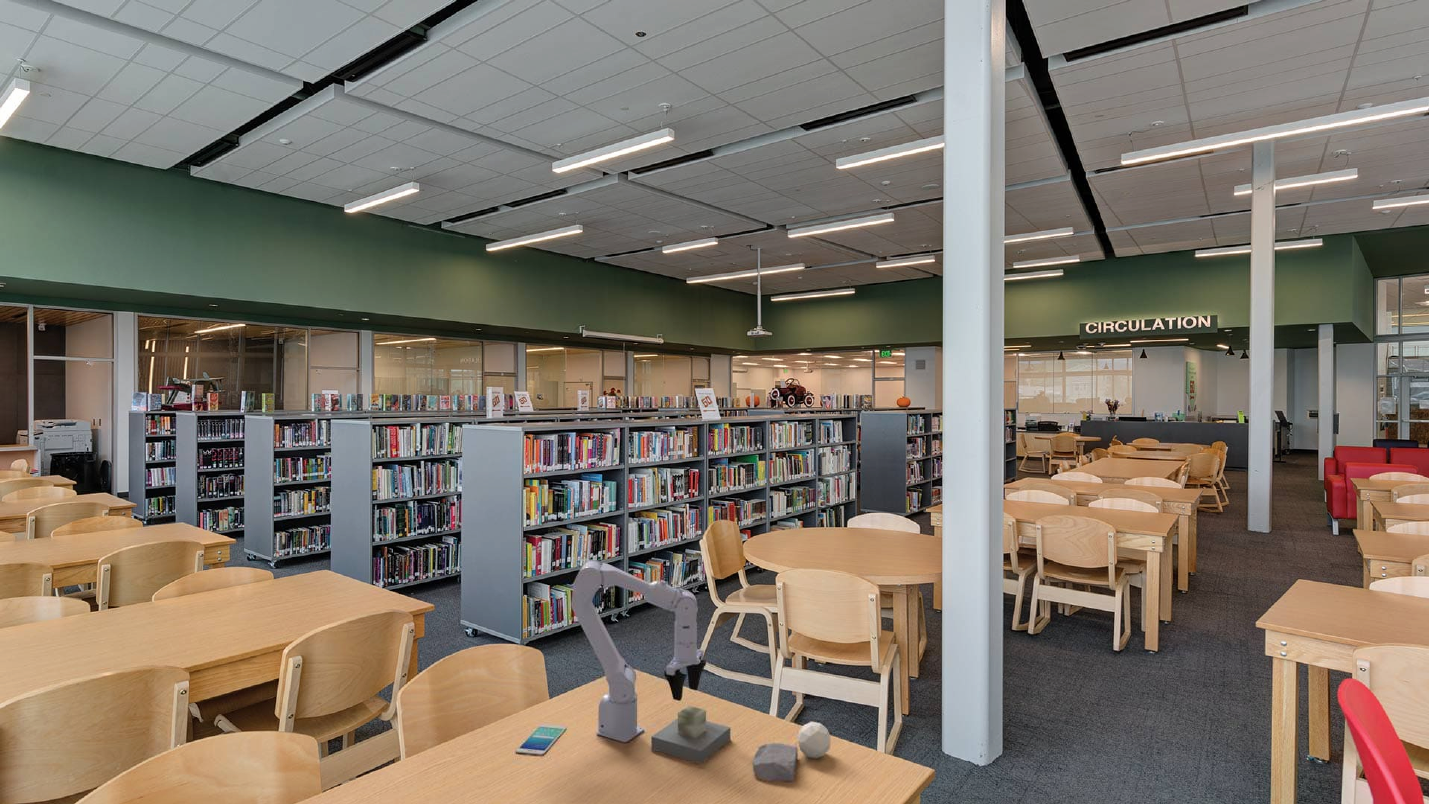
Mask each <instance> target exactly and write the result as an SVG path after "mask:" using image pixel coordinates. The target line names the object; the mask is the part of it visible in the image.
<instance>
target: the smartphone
mask: <svg viewBox="0 0 1429 804" xmlns="http://www.w3.org/2000/svg"><path fill="white" fill-rule="evenodd" d="M566 728H567V726H565V725H556V724H555V725H554V724H545V723H541V724H540V725H538V726H537V727H536V728H535V729H534V731H532V733H531V734H530V735H529V736H528V737H527V738H526V739H525V740H524V741H523V742H522V743H521V744H520V745H518V746H517V748H516V749H515V752H516V753H515V754H517V753H518V755H526V754H531V755H530V756H537V755H543V756H545V755H546V754H547V752H548V751H549V750H550V749H551V748H552V747H553V746H552V745H554V744H555V743H556V742H557V741H558V740H559V738H561V736H562V735H563V734H564V733H565V732H566V730H567V729H566ZM562 733H563V734H562ZM561 734H562V735H561ZM560 735H561V736H560ZM558 737H559V738H558ZM556 740H557V741H556ZM555 741H556V742H555ZM554 742H555V743H554ZM553 743H554V744H553ZM551 746H552V747H551ZM550 747H551V748H550ZM549 748H550V749H549ZM548 749H549V750H548ZM546 751H547V752H546ZM532 754H533V755H532ZM544 754H545V755H544Z"/></svg>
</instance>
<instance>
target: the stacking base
mask: <svg viewBox="0 0 1429 804" xmlns="http://www.w3.org/2000/svg"><path fill="white" fill-rule="evenodd" d="M650 738H651V741H650V742H651V746H650V747H651V750H653V751H657V752H659V753H663V754H667V755H669V756H673V757H677V758H680V759H683V760H686V761H689V762H692V763H697V764H700V765H702V764H703V763H704V762H706V760H708V759H709V758H711V756H712V755H714V754H715V753H716V752H717V751H719V749H721V748H722V747H724V746H725V745H726V744H727V743H728V742H729V741H730V740H731V727H730V726H727V725H723V724H719V723H714V722H710V721H707V720H706V731H705V732H703V733H702V734H701V735H699V736H698V737H697V738H691V737H688V736H684V735H681V734H678V718H676V719H675V720H673V721H672V722H671V723H669V724H667V725H666V726H665V727H663V728H662V729H661V730H659V731H658V732H655V734H653V735H651V737H650Z"/></svg>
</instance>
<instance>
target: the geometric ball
mask: <svg viewBox="0 0 1429 804" xmlns="http://www.w3.org/2000/svg"><path fill="white" fill-rule="evenodd" d="M831 742H832V741H831V735H830V733H829V730H828V728H826V726H824V725H823V724H822V723H821V722H816V721H810V722H808V723H806V724H803V725H802V727H801V728H800V729H799V731H798V733H797V743H798V747H799V750H800V751H801V752H802V754H803V755H805V756H806V757H807V758H811V759H815V760H816V759H819V758H821V757H824V756H825V755H826V754H827V753H828V751H829V750H830V748H831Z"/></svg>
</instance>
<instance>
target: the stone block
mask: <svg viewBox="0 0 1429 804" xmlns="http://www.w3.org/2000/svg"><path fill="white" fill-rule="evenodd" d="M798 751H799V750H798V746H797V745H790V744H785V743H780V742H772V743H765V744H762V745H761V746H758V748H757V751H756V752H755V754H754V756H753V759H752V769H753V773H754V775H755V777H756V778H757V779H759V780H764V781H769V782H770V781H775V782H778V781H779V782H788V783H792V782H793V781H794V779H795V773H796V767H797V762H798V755H799V754H798Z"/></svg>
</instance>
